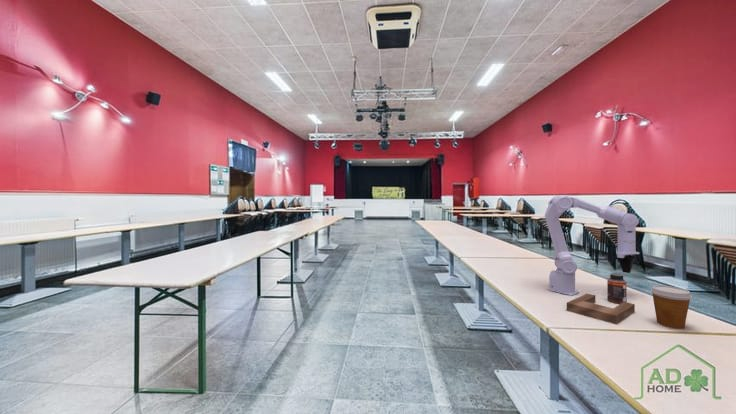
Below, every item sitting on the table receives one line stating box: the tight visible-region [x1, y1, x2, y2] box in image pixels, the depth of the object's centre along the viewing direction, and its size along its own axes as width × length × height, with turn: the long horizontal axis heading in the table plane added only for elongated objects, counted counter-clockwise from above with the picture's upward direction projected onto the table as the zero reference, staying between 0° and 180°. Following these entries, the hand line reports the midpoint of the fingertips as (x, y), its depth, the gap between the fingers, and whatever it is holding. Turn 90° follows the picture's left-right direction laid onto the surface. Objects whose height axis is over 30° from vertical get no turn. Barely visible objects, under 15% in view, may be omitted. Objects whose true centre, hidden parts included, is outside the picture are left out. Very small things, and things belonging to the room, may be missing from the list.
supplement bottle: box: [606, 272, 628, 305], centre depth 115 cm, size 6×6×11 cm
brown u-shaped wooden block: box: [566, 293, 636, 325], centre depth 106 cm, size 15×18×3 cm
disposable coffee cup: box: [650, 284, 693, 330], centre depth 94 cm, size 10×10×12 cm
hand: (626, 272), depth 121 cm, fingers closed
